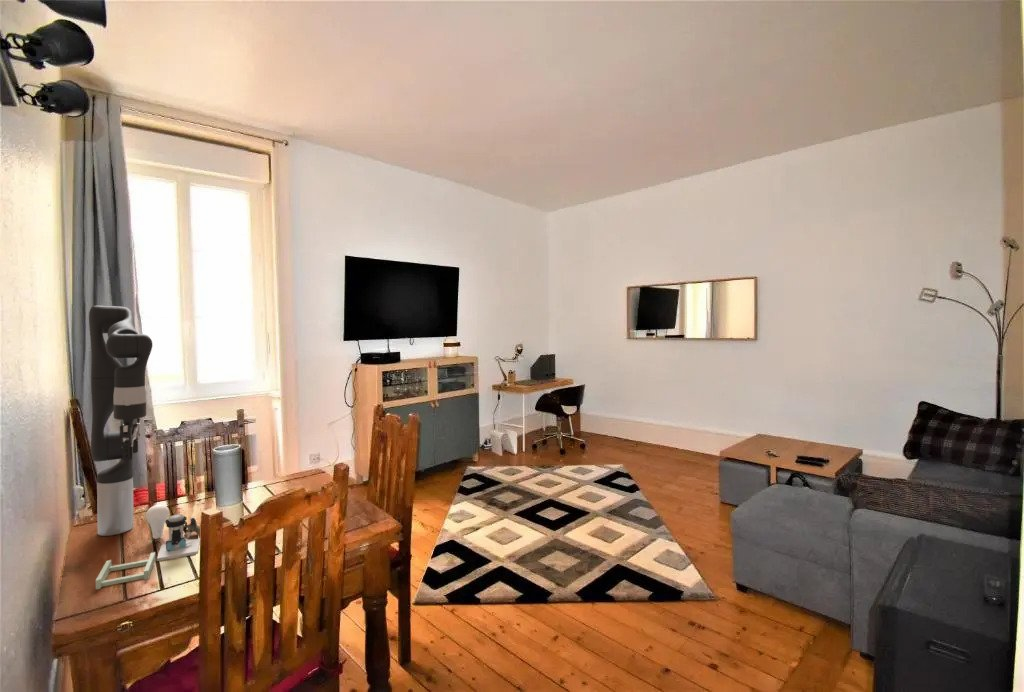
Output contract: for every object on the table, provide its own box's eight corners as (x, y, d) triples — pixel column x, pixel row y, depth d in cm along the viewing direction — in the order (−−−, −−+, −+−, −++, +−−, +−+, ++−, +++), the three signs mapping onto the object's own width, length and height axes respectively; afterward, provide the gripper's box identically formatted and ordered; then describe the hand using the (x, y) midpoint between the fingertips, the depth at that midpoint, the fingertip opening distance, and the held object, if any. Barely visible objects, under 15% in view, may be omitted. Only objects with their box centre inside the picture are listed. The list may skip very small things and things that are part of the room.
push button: (189, 541, 149) (189, 510, 149) (193, 547, 146) (193, 515, 145) (163, 548, 144) (163, 516, 144) (167, 554, 141) (167, 521, 140)
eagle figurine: (169, 537, 151) (191, 535, 149) (177, 514, 155) (199, 512, 153) (188, 542, 157) (211, 540, 155) (196, 519, 161) (217, 517, 159)
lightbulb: (156, 543, 149) (156, 509, 149) (140, 541, 150) (140, 507, 150) (174, 535, 155) (173, 502, 155) (158, 533, 156) (158, 500, 156)
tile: (161, 547, 147) (161, 544, 147) (200, 540, 152) (200, 538, 152) (156, 561, 138) (156, 558, 138) (197, 553, 143) (197, 551, 143)
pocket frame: (106, 569, 133) (106, 560, 133) (155, 560, 139) (155, 552, 139) (95, 589, 123) (95, 580, 123) (148, 579, 128) (148, 570, 128)
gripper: (119, 399, 144) (119, 452, 144) (107, 406, 131) (108, 464, 132) (150, 397, 147) (150, 449, 148) (141, 404, 135) (142, 460, 136)
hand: (130, 456), depth 140 cm, fingers open, 8 cm apart
